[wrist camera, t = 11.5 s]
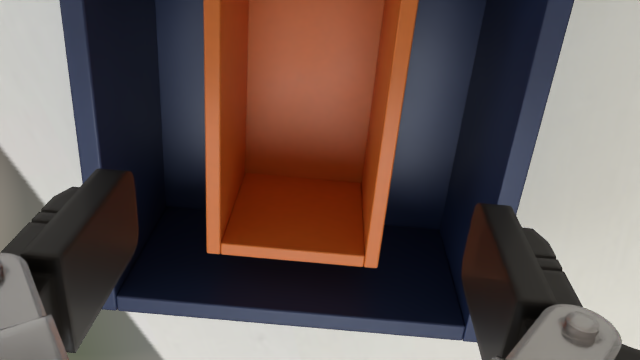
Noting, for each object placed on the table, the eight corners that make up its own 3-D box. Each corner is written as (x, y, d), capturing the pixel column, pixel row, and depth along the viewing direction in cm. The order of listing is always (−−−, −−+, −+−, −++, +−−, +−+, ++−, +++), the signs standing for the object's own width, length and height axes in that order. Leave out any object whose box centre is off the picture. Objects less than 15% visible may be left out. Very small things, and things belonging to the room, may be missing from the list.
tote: (523, -105, 21) (602, -99, 14) (450, 236, 27) (481, 343, 21) (133, -139, 21) (39, -148, 14) (155, 210, 27) (97, 310, 21)
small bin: (404, -55, 21) (424, -34, 16) (371, 188, 25) (377, 268, 20) (238, -70, 21) (202, -54, 16) (235, 176, 25) (206, 253, 20)
